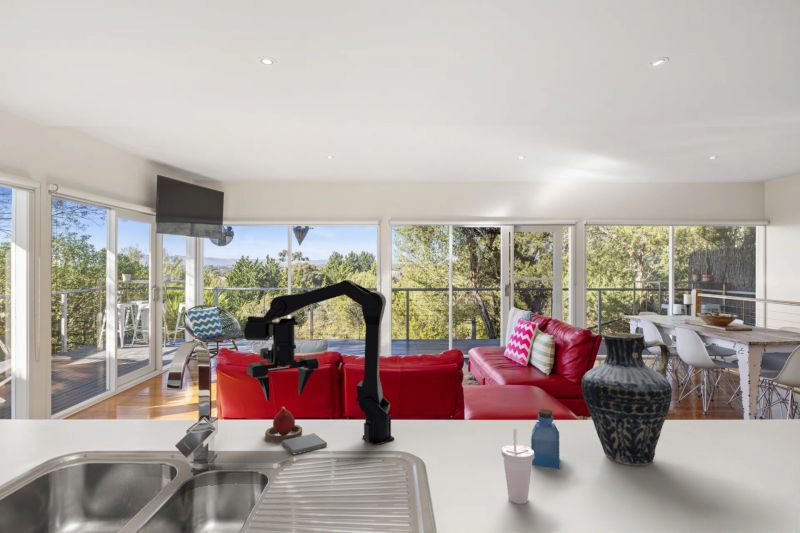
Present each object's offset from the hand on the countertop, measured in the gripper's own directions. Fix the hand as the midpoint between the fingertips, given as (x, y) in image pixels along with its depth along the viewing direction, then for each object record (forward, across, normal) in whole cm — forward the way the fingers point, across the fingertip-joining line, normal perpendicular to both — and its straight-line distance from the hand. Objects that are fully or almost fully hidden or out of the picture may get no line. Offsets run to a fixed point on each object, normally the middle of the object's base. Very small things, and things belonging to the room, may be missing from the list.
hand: (284, 397), depth 125 cm
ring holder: (+11, 0, 0) cm, 11 cm away
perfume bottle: (+11, -45, +52) cm, 70 cm away
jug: (+11, -63, +62) cm, 89 cm away
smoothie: (+11, -26, +60) cm, 66 cm away
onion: (+11, 0, 0) cm, 11 cm away
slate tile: (+11, -2, +9) cm, 14 cm away
